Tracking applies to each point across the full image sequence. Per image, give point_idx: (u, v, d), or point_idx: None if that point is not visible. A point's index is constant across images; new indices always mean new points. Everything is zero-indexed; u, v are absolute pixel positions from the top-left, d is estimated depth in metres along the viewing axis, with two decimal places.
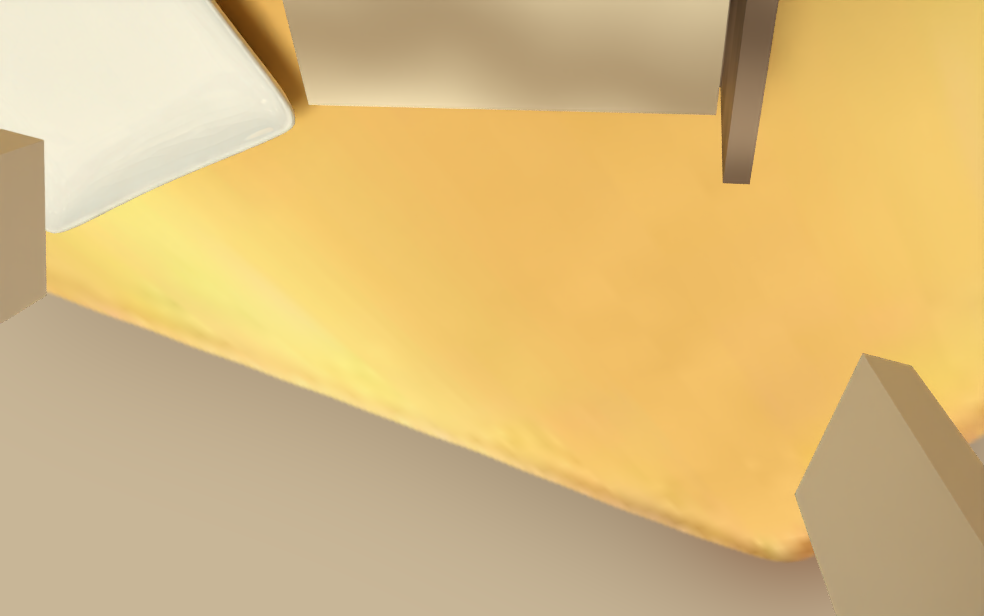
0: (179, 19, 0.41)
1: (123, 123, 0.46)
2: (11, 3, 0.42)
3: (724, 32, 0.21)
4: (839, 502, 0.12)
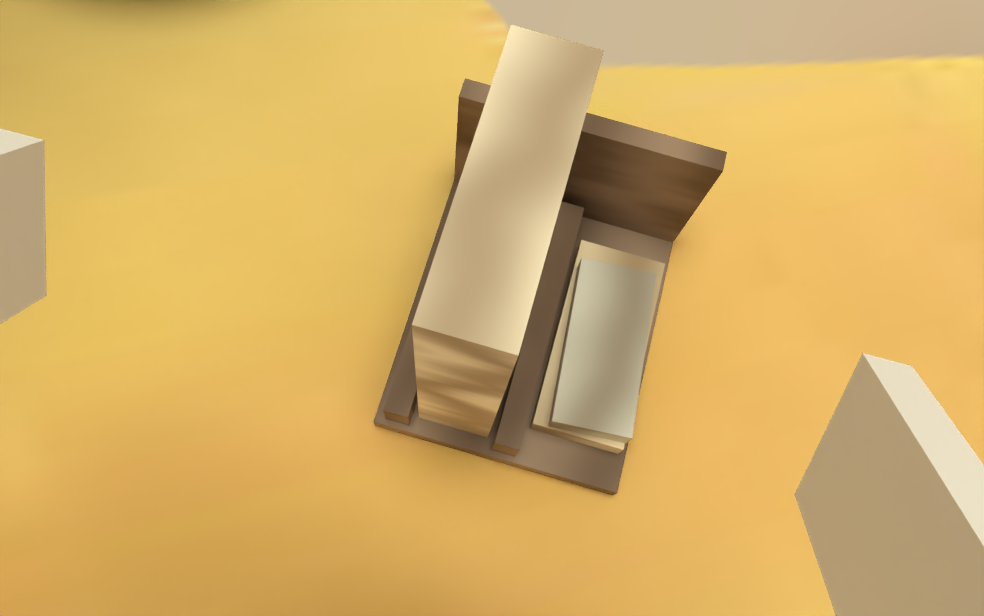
0: None
1: None
2: None
3: (541, 34, 0.30)
4: (839, 502, 0.12)
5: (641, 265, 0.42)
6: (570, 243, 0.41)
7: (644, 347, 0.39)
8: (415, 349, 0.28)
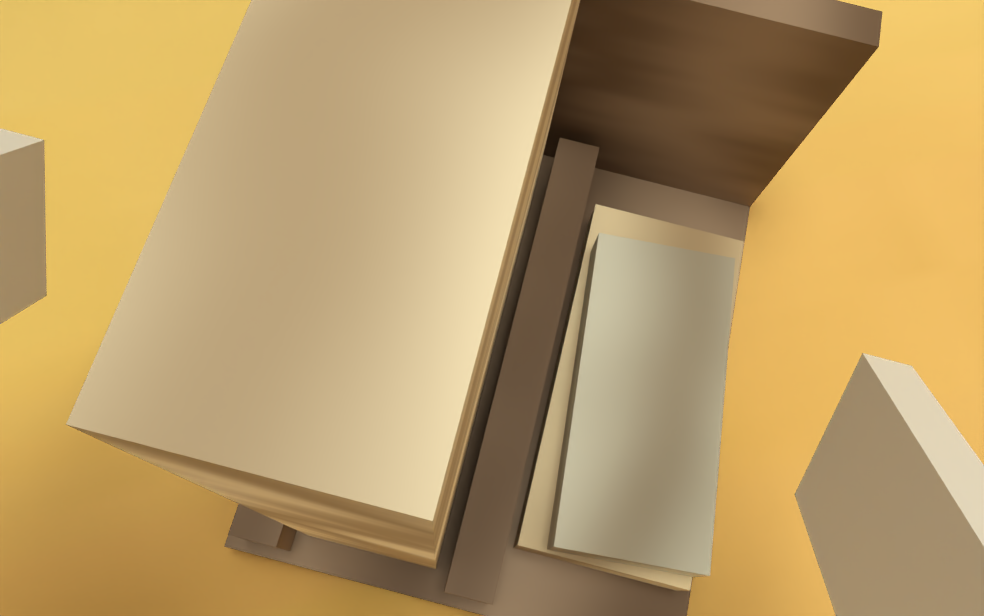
0: None
1: None
2: None
3: None
4: (839, 502, 0.12)
5: (702, 245, 0.24)
6: (576, 210, 0.23)
7: (722, 395, 0.21)
8: (167, 469, 0.10)
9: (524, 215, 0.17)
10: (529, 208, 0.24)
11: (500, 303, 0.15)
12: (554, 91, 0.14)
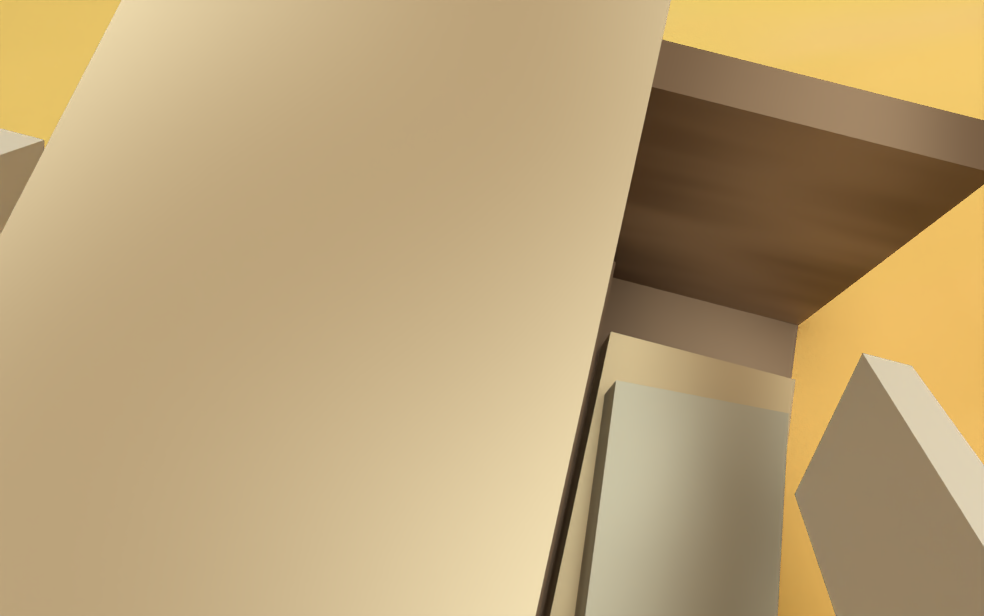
0: None
1: None
2: None
3: None
4: (839, 502, 0.12)
5: (744, 385, 0.19)
6: None
7: (775, 602, 0.16)
8: None
9: None
10: None
11: None
12: None
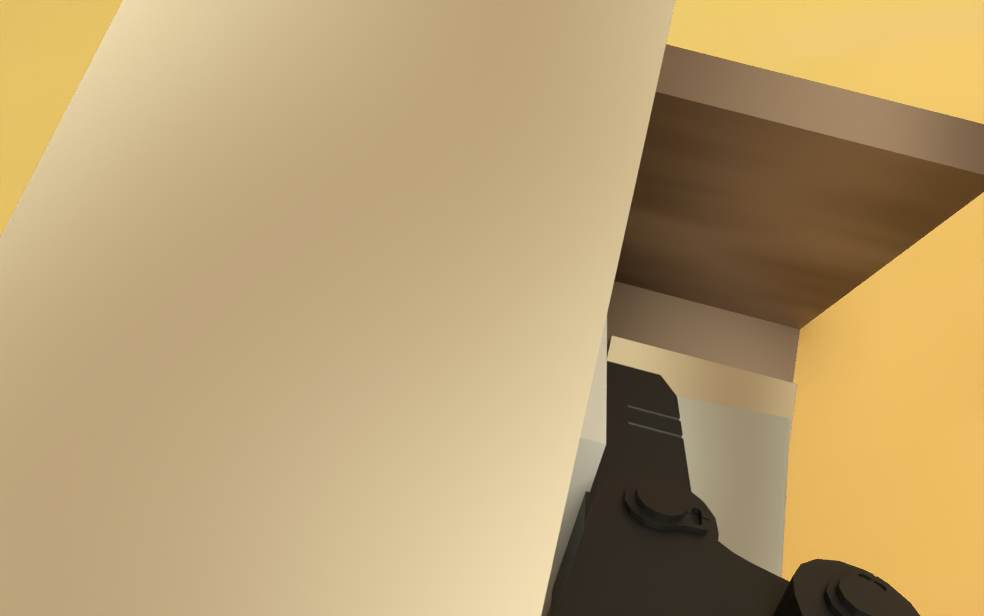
0: None
1: None
2: None
3: None
4: None
5: (745, 389, 0.19)
6: None
7: None
8: None
9: None
10: None
11: None
12: None
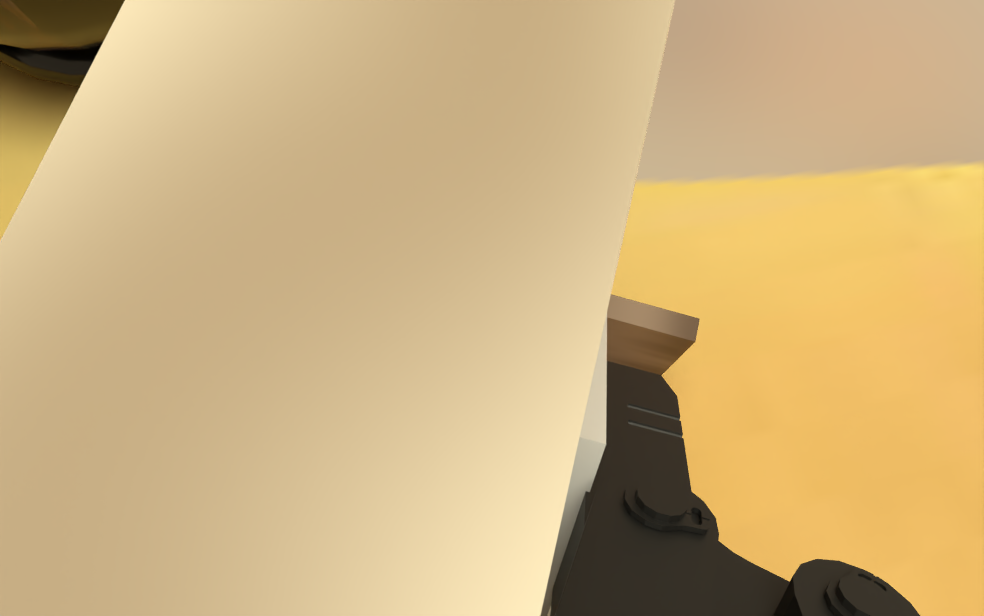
0: None
1: None
2: None
3: None
4: None
5: None
6: None
7: None
8: None
9: None
10: None
11: None
12: None
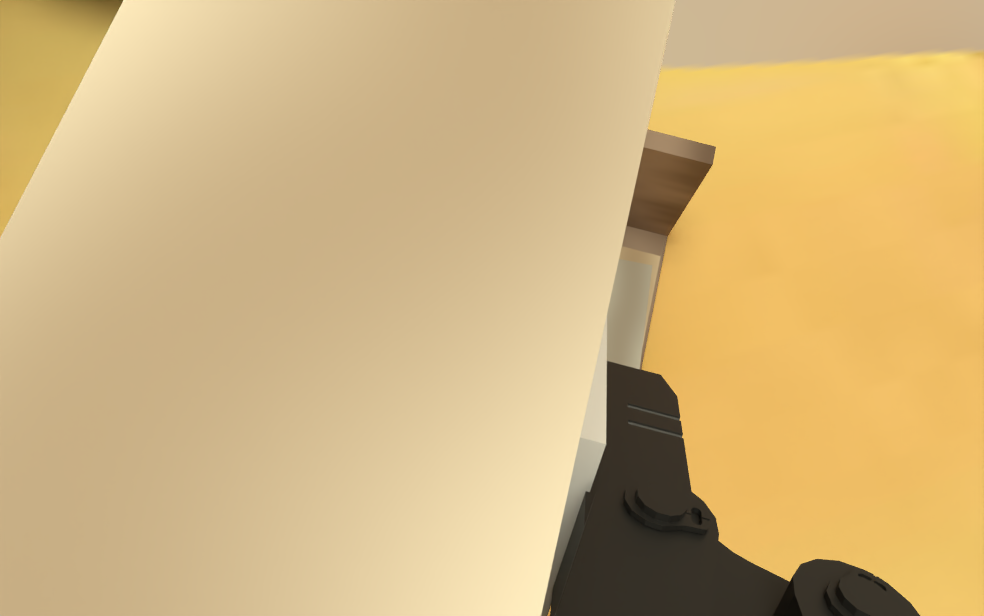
0: None
1: None
2: None
3: None
4: None
5: (637, 258, 0.44)
6: None
7: (642, 335, 0.41)
8: None
9: None
10: None
11: None
12: None
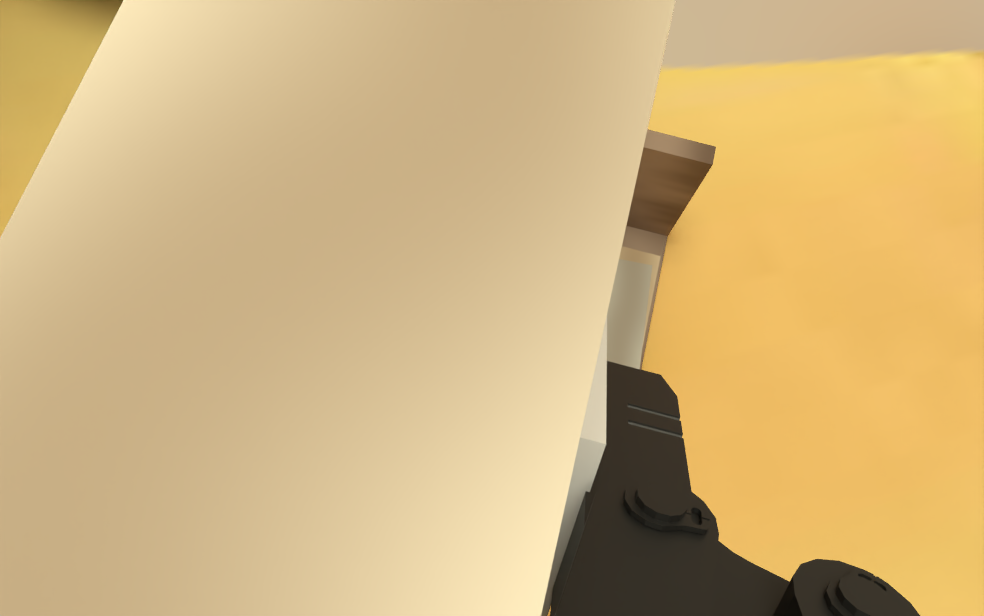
0: None
1: None
2: None
3: None
4: None
5: (637, 258, 0.44)
6: None
7: (642, 335, 0.41)
8: None
9: None
10: None
11: None
12: None
